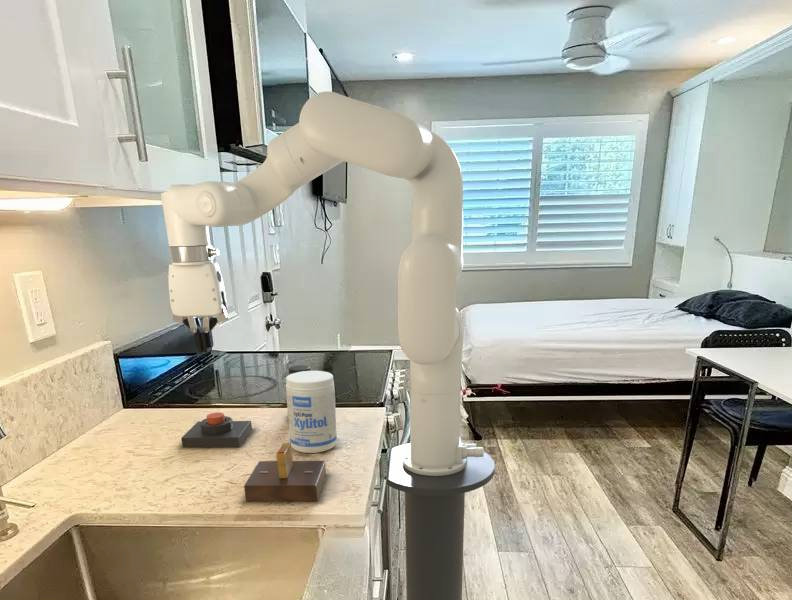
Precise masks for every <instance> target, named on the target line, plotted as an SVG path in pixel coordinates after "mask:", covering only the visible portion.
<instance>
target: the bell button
mask: <svg viewBox="0 0 792 600" xmlns="http://www.w3.org/2000/svg"><path fill="white" fill-rule="evenodd" d="M224 416H225V414H224V413H223V412H211V413H209V414H207V415H206V418H207V423H208V424H210V425H215V424H221V423H224V422H225V417H224Z"/></svg>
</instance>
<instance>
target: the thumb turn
mask: <svg viewBox="0 0 792 600" xmlns="http://www.w3.org/2000/svg"><path fill="white" fill-rule="evenodd" d="M292 452H293V451H292V446H291V443H290V442H282V444H281V445H280V447H279V449H278V450H277V452H276V461H277V464H278V473H279V478H287V477H288V475H289V473H290V471H291V469H292V467H293V461H294V460H293V453H292Z"/></svg>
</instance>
